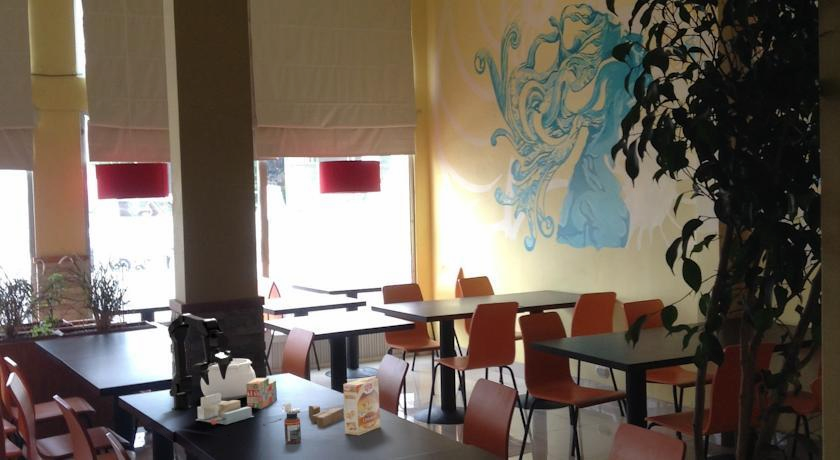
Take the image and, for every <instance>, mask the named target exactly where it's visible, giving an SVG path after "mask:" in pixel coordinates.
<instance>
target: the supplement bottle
mask: <svg viewBox="0 0 840 460" xmlns="http://www.w3.org/2000/svg"><path fill="white" fill-rule="evenodd" d="M285 417H286V418H285V419H284V420H283V421H284V422H283V423H284V426H283V427H284V441H285V443H286V444H288V445H289V444H290V445H292V444H293V445H294V444H299V443H301V441H302V432H301V429H302V428H301V418H300V417H298V412H294V411H293V412H292V411H291V412H286V416H285Z"/></svg>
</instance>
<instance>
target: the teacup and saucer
mask: <svg viewBox="0 0 840 460" xmlns="http://www.w3.org/2000/svg"><path fill="white" fill-rule="evenodd" d="M283 407H284V408H283ZM281 409H282V411H281V412H283V413H284V412H285V413H287V412H293V411H294V412H297V413H298V412H299V411H301V408H300V407H296V408H293V409H292V403H291V402H290V403H289V402H288V403H284V404H283V405H281Z"/></svg>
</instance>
